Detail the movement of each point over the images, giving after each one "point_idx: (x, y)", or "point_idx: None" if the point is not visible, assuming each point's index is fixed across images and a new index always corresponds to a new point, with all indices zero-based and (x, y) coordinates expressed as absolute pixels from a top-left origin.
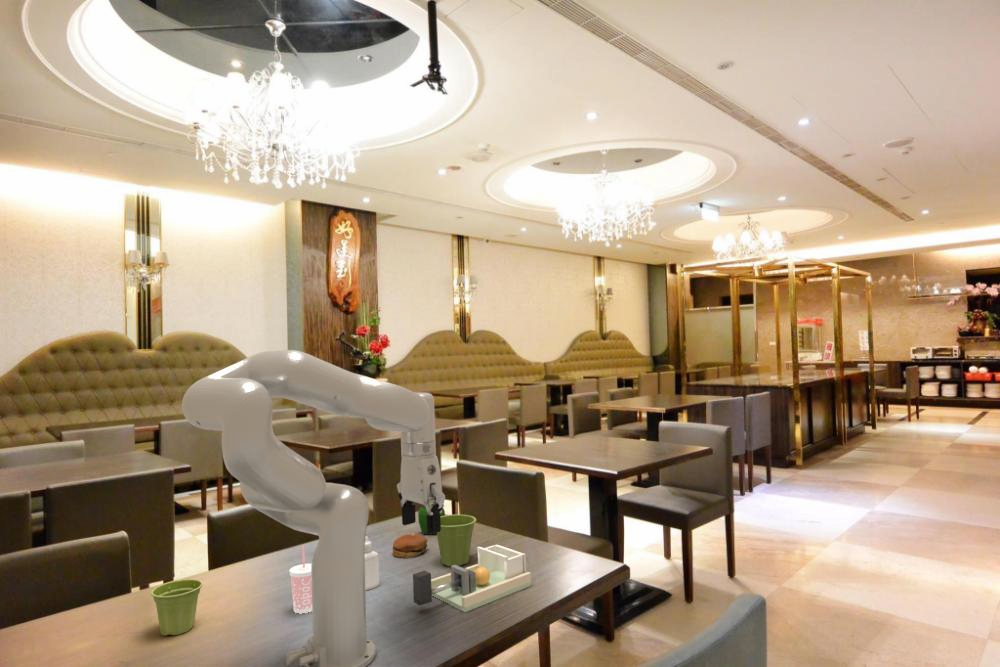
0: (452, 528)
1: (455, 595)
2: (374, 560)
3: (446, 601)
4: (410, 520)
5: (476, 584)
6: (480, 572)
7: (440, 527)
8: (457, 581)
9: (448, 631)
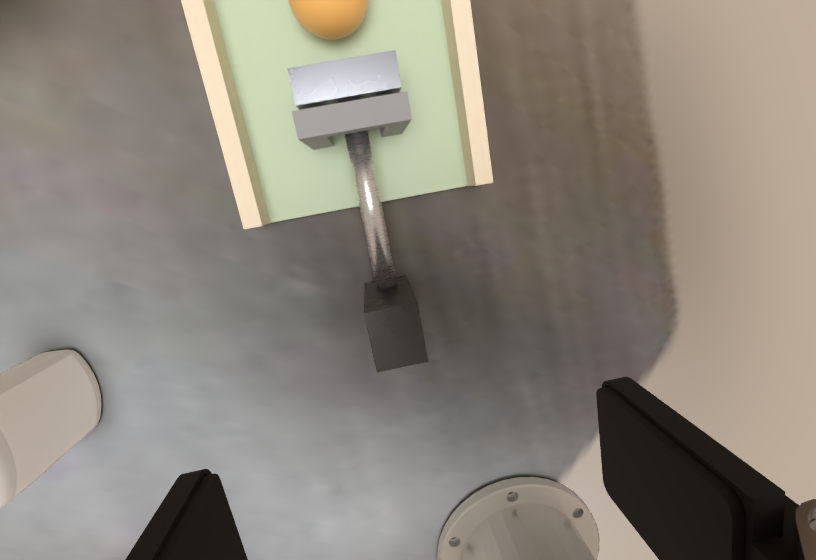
0: None
1: None
2: (7, 424)
3: None
4: (222, 541)
5: None
6: (352, 1)
7: (644, 390)
8: (366, 143)
9: (556, 282)
